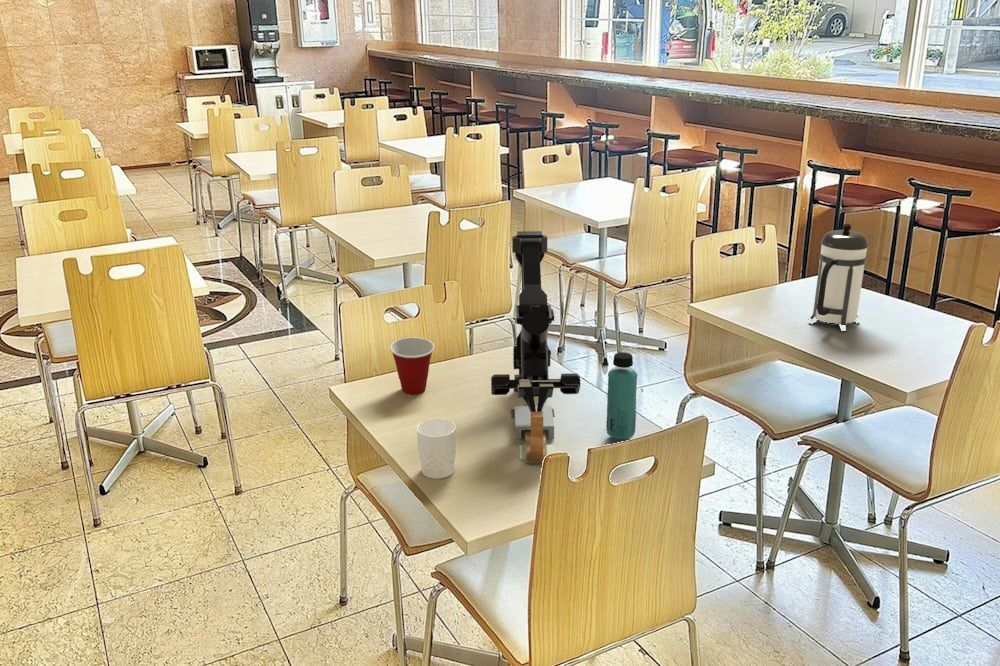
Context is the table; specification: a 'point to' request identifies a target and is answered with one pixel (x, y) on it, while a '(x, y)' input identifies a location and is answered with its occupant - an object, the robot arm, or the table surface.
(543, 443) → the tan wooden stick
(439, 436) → the white cup
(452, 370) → the table surface
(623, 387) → the beverage bottle
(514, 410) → the pit
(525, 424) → the tunnel
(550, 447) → the pad
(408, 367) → the plastic cup
